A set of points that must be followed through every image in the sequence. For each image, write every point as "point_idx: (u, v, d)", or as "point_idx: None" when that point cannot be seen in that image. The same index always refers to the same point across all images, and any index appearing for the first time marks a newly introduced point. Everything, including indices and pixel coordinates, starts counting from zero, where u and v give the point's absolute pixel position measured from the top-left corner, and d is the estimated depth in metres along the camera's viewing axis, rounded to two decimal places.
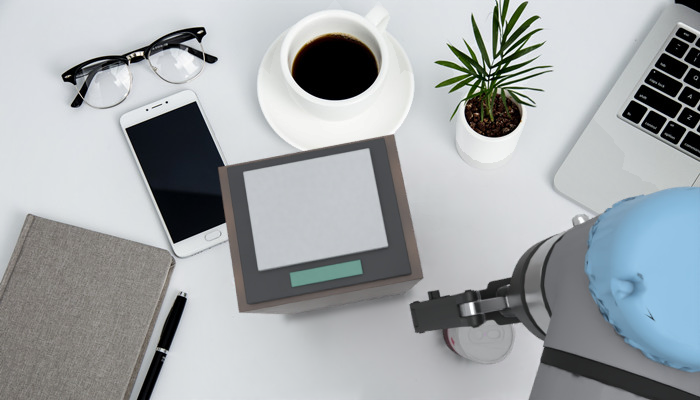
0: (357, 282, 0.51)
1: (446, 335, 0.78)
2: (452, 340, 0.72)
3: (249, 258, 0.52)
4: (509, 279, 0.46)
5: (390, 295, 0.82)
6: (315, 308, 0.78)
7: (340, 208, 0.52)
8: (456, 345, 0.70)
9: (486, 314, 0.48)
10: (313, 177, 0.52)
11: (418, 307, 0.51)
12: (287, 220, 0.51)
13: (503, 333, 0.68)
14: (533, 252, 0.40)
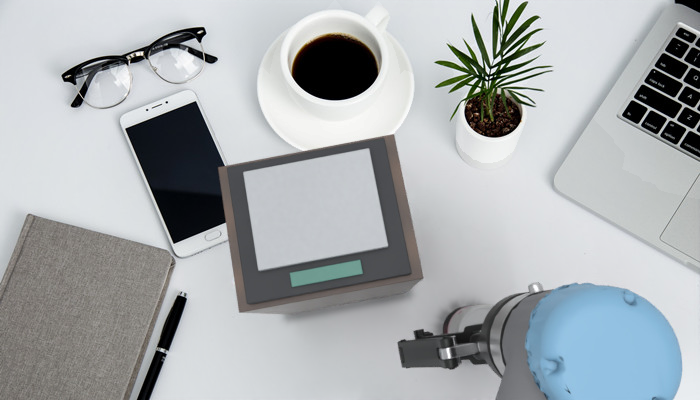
0: (357, 282, 0.51)
1: None
2: None
3: (249, 258, 0.52)
4: (482, 325, 0.53)
5: (390, 295, 0.82)
6: (315, 308, 0.78)
7: (340, 208, 0.52)
8: None
9: None
10: (313, 177, 0.52)
11: (404, 346, 0.58)
12: (287, 220, 0.51)
13: None
14: (498, 309, 0.47)
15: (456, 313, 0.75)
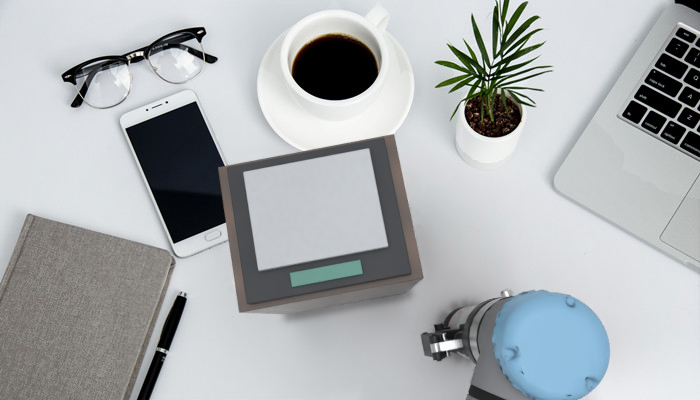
0: (357, 282, 0.51)
1: None
2: None
3: (249, 258, 0.52)
4: None
5: (390, 295, 0.82)
6: (315, 308, 0.78)
7: (340, 208, 0.52)
8: None
9: None
10: (313, 177, 0.52)
11: (422, 338, 0.70)
12: (287, 220, 0.51)
13: None
14: (477, 311, 0.57)
15: (456, 313, 0.75)
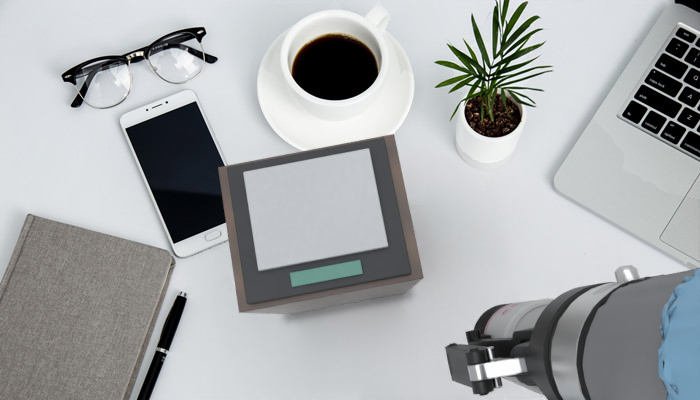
0: (357, 282, 0.51)
1: None
2: None
3: (249, 258, 0.52)
4: (530, 332, 0.38)
5: (390, 295, 0.82)
6: (315, 308, 0.78)
7: (340, 208, 0.52)
8: None
9: None
10: (313, 177, 0.52)
11: (449, 353, 0.44)
12: (287, 220, 0.51)
13: None
14: (560, 308, 0.31)
15: (497, 313, 0.49)
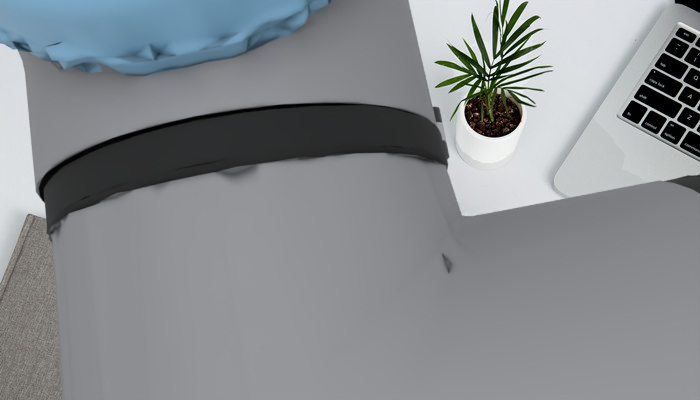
0: None
1: None
2: None
3: None
4: None
5: None
6: None
7: None
8: None
9: None
10: None
11: None
12: None
13: None
14: None
15: None
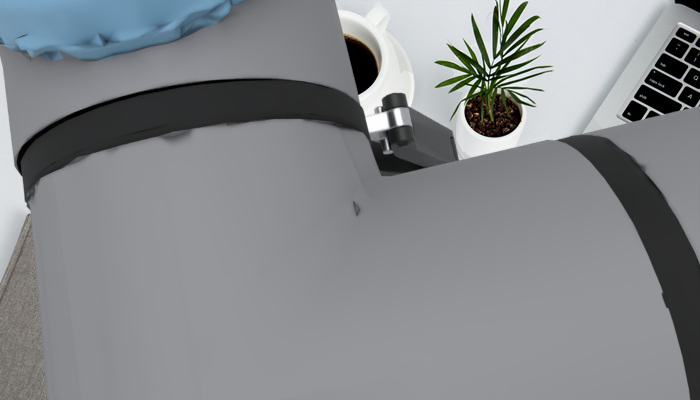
0: None
1: None
2: None
3: None
4: None
5: None
6: None
7: None
8: None
9: None
10: None
11: None
12: None
13: None
14: None
15: None
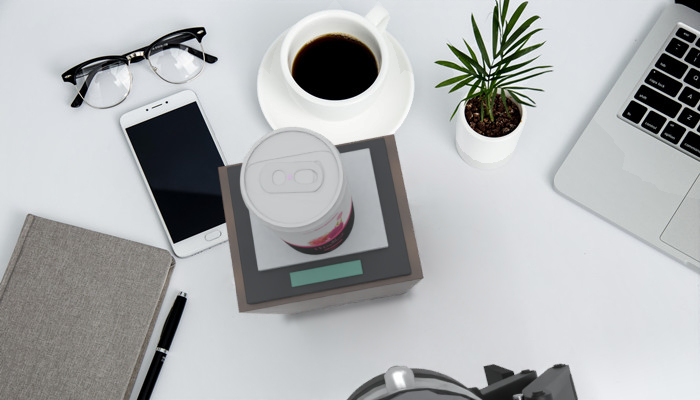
0: (357, 282, 0.51)
1: None
2: None
3: (249, 258, 0.52)
4: None
5: (390, 295, 0.82)
6: (315, 308, 0.78)
7: None
8: None
9: None
10: None
11: None
12: None
13: (322, 175, 0.37)
14: None
15: None
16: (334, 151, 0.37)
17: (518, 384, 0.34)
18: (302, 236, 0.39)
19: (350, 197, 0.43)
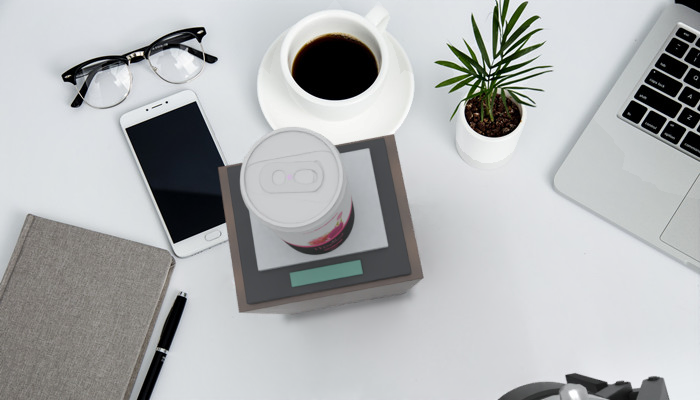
0: (357, 282, 0.51)
1: None
2: None
3: (249, 258, 0.52)
4: None
5: (390, 295, 0.82)
6: (315, 308, 0.78)
7: None
8: None
9: None
10: None
11: None
12: None
13: (322, 175, 0.37)
14: None
15: None
16: (334, 151, 0.37)
17: (619, 395, 0.36)
18: (302, 236, 0.39)
19: (350, 197, 0.43)
